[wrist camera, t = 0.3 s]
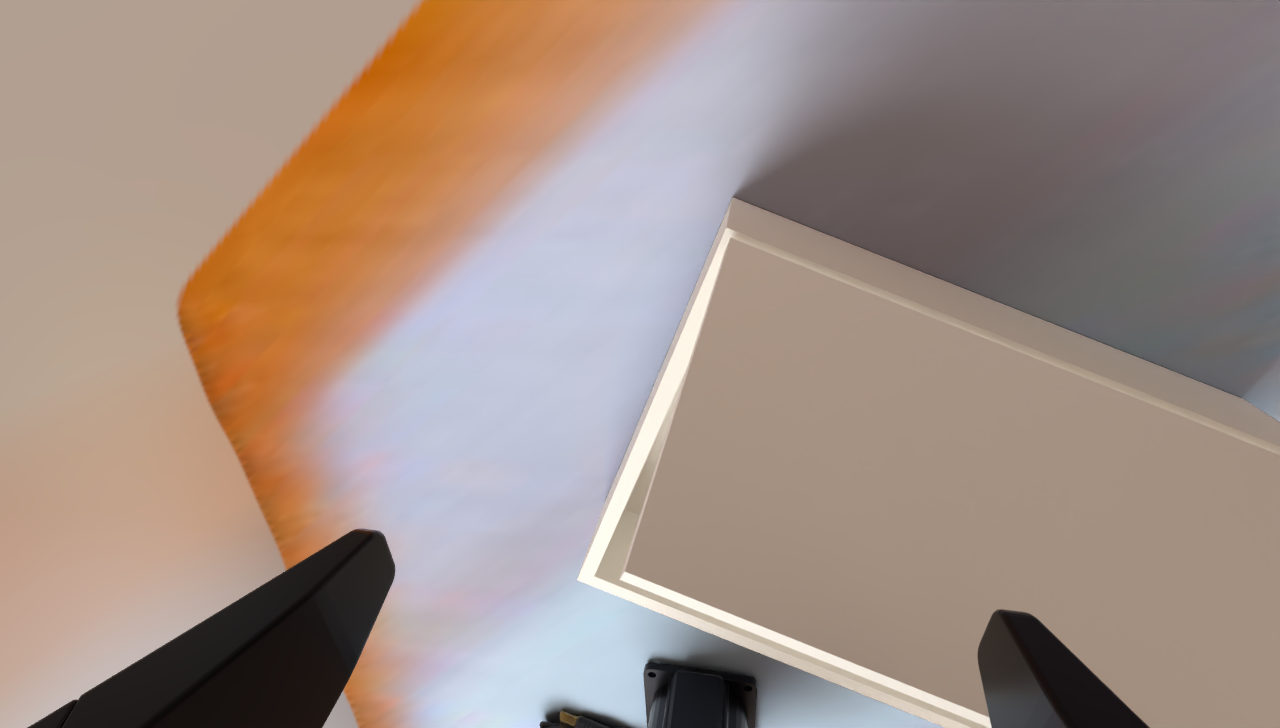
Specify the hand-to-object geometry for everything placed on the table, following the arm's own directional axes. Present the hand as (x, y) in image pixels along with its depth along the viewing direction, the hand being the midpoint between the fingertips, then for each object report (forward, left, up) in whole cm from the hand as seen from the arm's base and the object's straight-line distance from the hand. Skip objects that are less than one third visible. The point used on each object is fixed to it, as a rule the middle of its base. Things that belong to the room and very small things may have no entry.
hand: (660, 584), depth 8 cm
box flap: (-1, -10, -10) cm, 14 cm away
